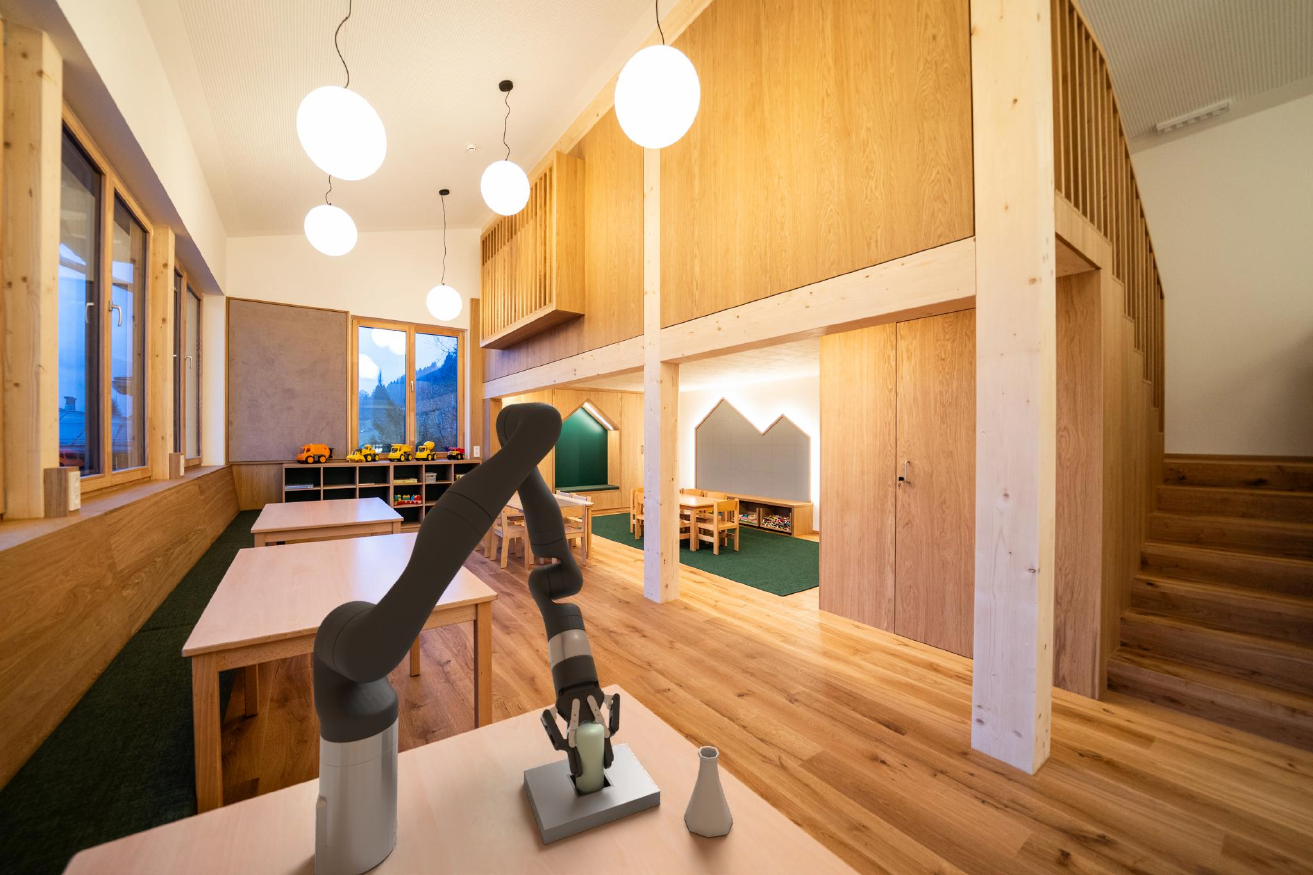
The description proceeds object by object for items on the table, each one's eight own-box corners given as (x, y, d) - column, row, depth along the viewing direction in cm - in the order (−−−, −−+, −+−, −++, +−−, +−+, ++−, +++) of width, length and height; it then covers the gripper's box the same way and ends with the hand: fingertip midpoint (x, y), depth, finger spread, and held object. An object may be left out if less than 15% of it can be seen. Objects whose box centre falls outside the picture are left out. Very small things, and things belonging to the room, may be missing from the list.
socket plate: (544, 844, 69) (544, 830, 69) (523, 783, 81) (523, 770, 82) (660, 803, 77) (660, 790, 77) (625, 753, 90) (625, 742, 90)
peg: (580, 806, 76) (581, 740, 76) (572, 788, 80) (572, 726, 80) (607, 797, 78) (608, 733, 78) (598, 780, 82) (598, 719, 82)
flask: (731, 804, 77) (732, 739, 77) (734, 841, 70) (734, 769, 70) (685, 800, 78) (685, 736, 78) (682, 837, 71) (683, 765, 71)
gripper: (535, 661, 83) (553, 778, 72) (615, 646, 89) (643, 751, 78) (528, 679, 88) (544, 792, 77) (604, 664, 94) (629, 766, 83)
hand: (594, 770), depth 78 cm, fingers closed on peg, 4 cm apart
